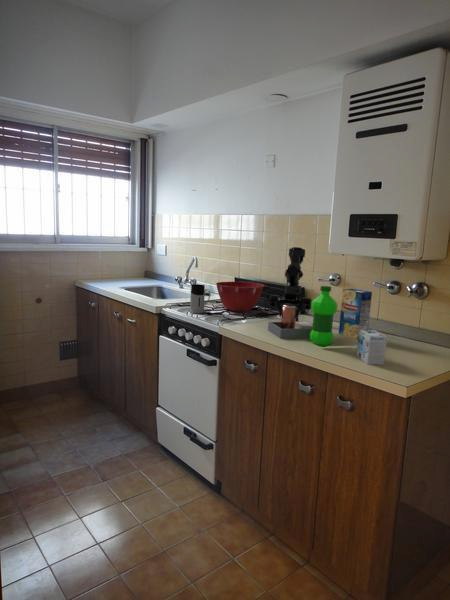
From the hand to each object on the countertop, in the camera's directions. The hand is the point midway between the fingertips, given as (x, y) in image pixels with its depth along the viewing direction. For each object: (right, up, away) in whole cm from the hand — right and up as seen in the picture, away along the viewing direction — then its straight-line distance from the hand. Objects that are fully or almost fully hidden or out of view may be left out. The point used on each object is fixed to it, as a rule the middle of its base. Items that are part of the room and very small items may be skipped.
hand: (288, 317), depth 189 cm
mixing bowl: (-20, +2, +63) cm, 66 cm away
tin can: (0, -7, +3) cm, 8 cm away
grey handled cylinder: (-42, +1, +48) cm, 64 cm away
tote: (+3, -9, +4) cm, 10 cm away
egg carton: (+8, -8, +5) cm, 12 cm away
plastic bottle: (+12, -11, -10) cm, 20 cm away
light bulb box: (+27, -15, -29) cm, 42 cm away
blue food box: (+31, -10, +6) cm, 33 cm away
